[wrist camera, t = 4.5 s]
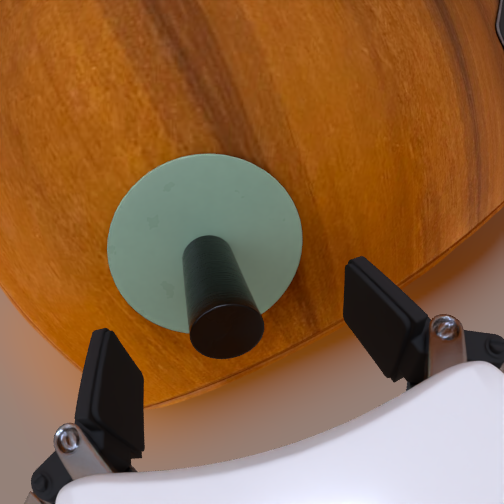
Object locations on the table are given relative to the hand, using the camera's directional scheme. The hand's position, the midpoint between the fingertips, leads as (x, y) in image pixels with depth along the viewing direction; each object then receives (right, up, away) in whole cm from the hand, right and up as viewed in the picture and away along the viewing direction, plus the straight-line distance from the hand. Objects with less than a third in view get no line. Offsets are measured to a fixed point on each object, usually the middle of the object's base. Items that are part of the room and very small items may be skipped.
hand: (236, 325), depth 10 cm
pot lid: (-2, +3, +5) cm, 6 cm away
